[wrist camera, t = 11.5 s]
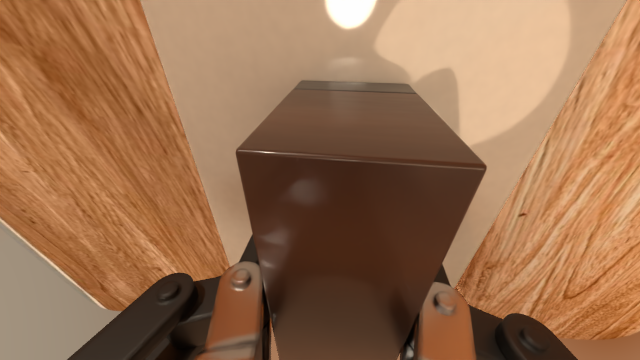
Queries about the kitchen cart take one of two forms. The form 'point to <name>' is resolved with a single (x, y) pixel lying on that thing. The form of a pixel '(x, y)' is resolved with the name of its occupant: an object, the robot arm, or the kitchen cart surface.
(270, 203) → the dark brown block
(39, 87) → the kitchen cart surface
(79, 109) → the kitchen cart surface
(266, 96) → the tile
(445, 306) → the robot arm
